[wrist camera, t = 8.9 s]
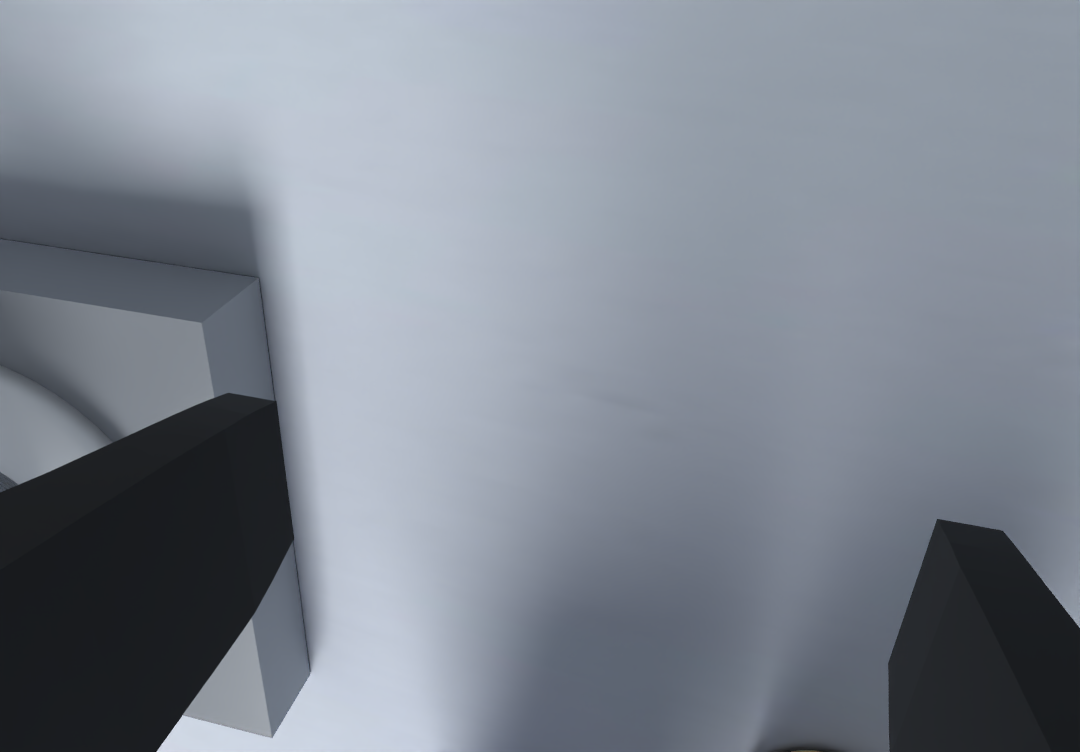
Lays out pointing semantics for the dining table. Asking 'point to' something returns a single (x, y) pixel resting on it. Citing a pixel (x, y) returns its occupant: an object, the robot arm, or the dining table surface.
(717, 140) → the dining table surface
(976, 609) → the robot arm
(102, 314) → the kitchen scale
